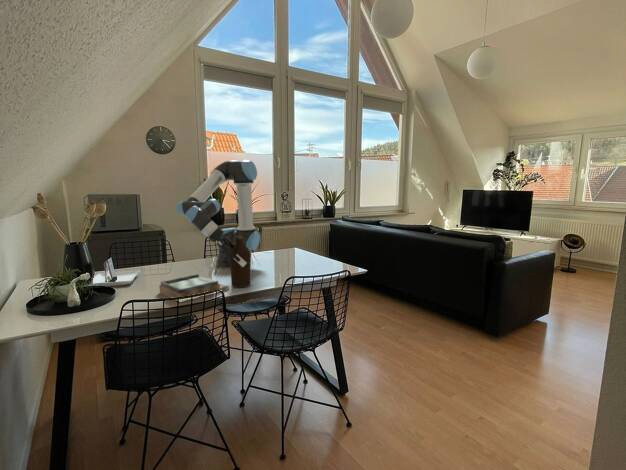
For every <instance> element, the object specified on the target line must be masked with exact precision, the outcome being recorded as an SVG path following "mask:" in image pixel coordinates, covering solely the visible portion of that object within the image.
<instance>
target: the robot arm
mask: <svg viewBox="0 0 626 470" xmlns="http://www.w3.org/2000/svg"><path fill="white" fill-rule="evenodd" d="M257 177H258V169H257V166H256V165H255V163H254V162H253V161H252V160H249V159H241V160H240V159H239V160H238V159H237V160H235V159H233V160H226V161H223V162H222V163H219V164H218V165H217V166H216V167H215V168H213V170H211V171H210V173H209V176H207V178H206V179H205V181H204V182H202V183H201V184H200V185H199V186H198V188H196V190H194V192H193V193H192V194H191V195H190V196H189V197H188V198H187V199H186V200H181V201H179V202H178V203H177V205H176V212H177V213H178V215H180V216H185V218H186V220H187V221H189V223H190V224H192V226H195V227H196V229H198V230H199V232H201V233H202V235H204V236H206V237H208V239H209V240H210V241H211V242H212V243H215V242H217V243H216V245H217V246H218V247H217V248H218V250H217V251H218V253H217V258H216V261H215V266H216V267H220V268H230V260H229V257H230V258H231V259H234V260H236V261H237V262H238V263H239V264H240V265H241V266H242V267H244V266H245V265H246V264H247V263H246V262H245V261H244V260H243V259H242V258H241V257H240V256H239V255H238V254H236V253H235V252H234V251H233V250H232V248H233V247H234V246H235V245H236V236H243V244H244V245H245V246H246V247H247V248H248V249H249V250H250V251H253V250H256V249H257V248H258V246H259V244H260V239H261V237H260V236H261V234H260V232H259V231H256V230H257V229H256V227H255V225H254V216H253V198H252V196H253V195H252V186H253V184H254V181H255V180H256V179H257ZM227 181H233V184H234V185H235V187H236V197H237V198H236V201H237V218H238V219H237V220H238V226H237V227H229V228H228V227H227V228H223V229H222V228H221V227H220V226H219V227H218V224H216V223H215V222H214V220H212V219H211V218H212V217H214V216H215V215H217V213H218V212H219V211H220V210H221V204H220V202H219V200H217V199H215V198H210V196H211V195H213V193H214V192H215V191H216V190H217V189H218V187H220V185H223V184H225V183H226V182H227ZM209 198H210V199H209Z"/></svg>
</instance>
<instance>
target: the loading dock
mask: <svg viewBox="0 0 626 470" xmlns="http://www.w3.org/2000/svg"><path fill="white" fill-rule="evenodd" d="M158 286H159V293H160V294H161V295H163V296H165V297H166V298H169V297H182V296H188V295H193V294H198V293H203V292H207V291H212V290H222V292H226V291H229V290H230V287H229V285H228V284H226V283H222V282H219V281H218V280H214V279H211V278H207V277H202V276H200V275H199V273H195V274H191V275H187V276H186V275H185V276H181V277H176V278H172V279H167V280H162V281H160V284H159V285H158ZM218 293H220V292H218ZM218 293H217V294H218Z"/></svg>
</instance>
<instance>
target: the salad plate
mask: <svg viewBox="0 0 626 470" xmlns="http://www.w3.org/2000/svg"><path fill="white" fill-rule="evenodd" d="M113 272H114V273H115V275H116V276H117V280H116V281H115V282H105V273H106V272H99V273H97V274H96V275H95V276H93V277H94V278H93V277H92V278H93V284H92V285H94V286H96V285H99V286H105V287H115V286H126V285H130V284H131V283H132V282H133V281H134V279H135V278H136V277H137V276H138V275H139V274H140V272H141V270H140V269H137V270H136V269H135V270H121V271H113Z"/></svg>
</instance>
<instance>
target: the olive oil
mask: <svg viewBox="0 0 626 470" xmlns="http://www.w3.org/2000/svg"><path fill="white" fill-rule="evenodd" d="M232 250H233V251H234V252H235V253H236V254H238V255H239V256H240V257H241V258H242V259H243V260H244V261H245V262H246V263H247V264H246V265H245V266H244V267H242V266H241V265H240V264H239V263H238V262H237V261H236V260H234V259H231V258H230V257H229V260H230V267H229V268H230V281H231V282H230V284H231V286H232V287H234V288H245V287H249V286H251V271H252V270H251V267H252V266H251V265H252V263H251V262H252V259H251V258H252V255H251V250H249V249H248V248H247V247H246V246H245V245H244V244H243V236H236V245H235V246H234V247H233V248H232Z"/></svg>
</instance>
